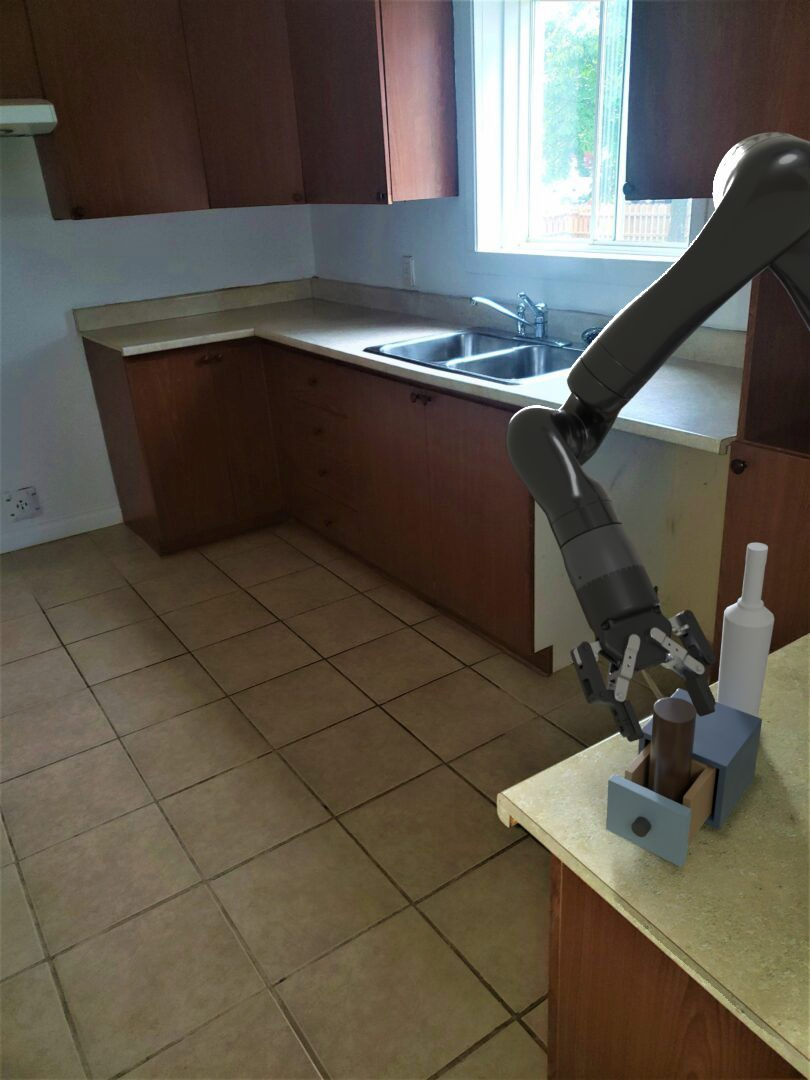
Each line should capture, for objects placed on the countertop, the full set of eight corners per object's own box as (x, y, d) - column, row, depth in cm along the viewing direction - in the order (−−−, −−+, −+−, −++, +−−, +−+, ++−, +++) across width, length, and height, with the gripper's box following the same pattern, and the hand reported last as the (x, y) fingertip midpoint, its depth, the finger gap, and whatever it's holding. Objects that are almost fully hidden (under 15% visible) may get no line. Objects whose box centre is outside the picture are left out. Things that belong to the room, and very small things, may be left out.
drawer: (675, 875, 79) (680, 823, 76) (599, 836, 84) (601, 786, 81) (716, 817, 85) (722, 767, 82) (644, 784, 90) (647, 735, 87)
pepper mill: (669, 791, 87) (678, 692, 82) (695, 816, 84) (706, 714, 78) (637, 804, 86) (644, 704, 80) (663, 830, 83) (671, 727, 77)
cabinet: (719, 830, 84) (726, 767, 81) (635, 791, 90) (639, 730, 87) (753, 779, 91) (762, 718, 87) (673, 746, 96) (678, 687, 93)
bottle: (708, 741, 97) (729, 554, 86) (714, 716, 101) (734, 533, 90) (755, 752, 95) (782, 560, 84) (759, 725, 99) (785, 539, 88)
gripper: (563, 581, 80) (630, 743, 75) (682, 548, 84) (752, 698, 79) (535, 604, 86) (595, 754, 82) (647, 572, 91) (710, 712, 86)
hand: (673, 726), depth 80 cm, fingers open, 8 cm apart
